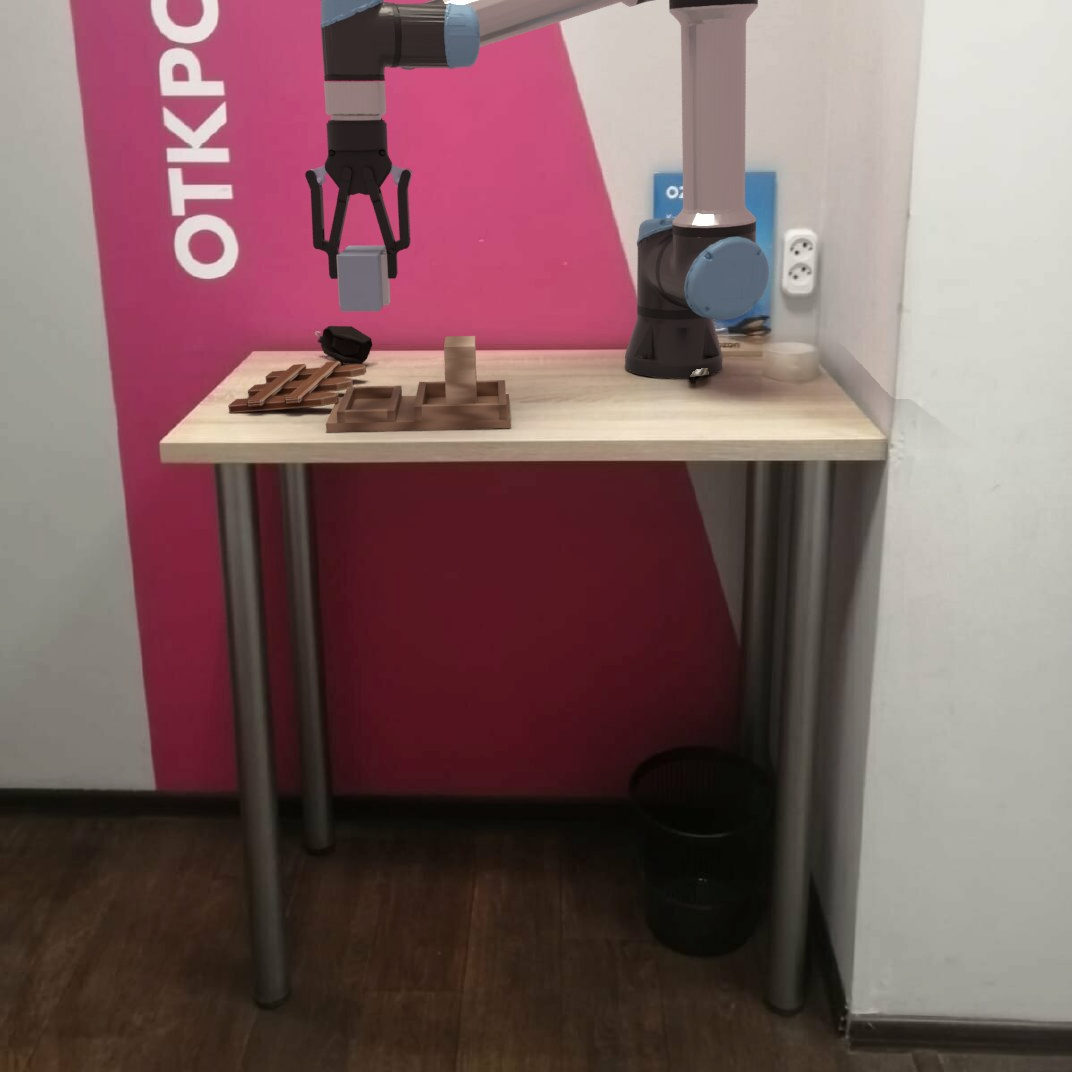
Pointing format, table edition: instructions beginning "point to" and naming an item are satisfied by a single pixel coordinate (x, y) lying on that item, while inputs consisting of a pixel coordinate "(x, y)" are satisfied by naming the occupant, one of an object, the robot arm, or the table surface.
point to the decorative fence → (299, 388)
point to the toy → (345, 344)
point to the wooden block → (460, 370)
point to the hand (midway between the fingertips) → (365, 303)
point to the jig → (419, 409)
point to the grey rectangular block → (360, 278)
